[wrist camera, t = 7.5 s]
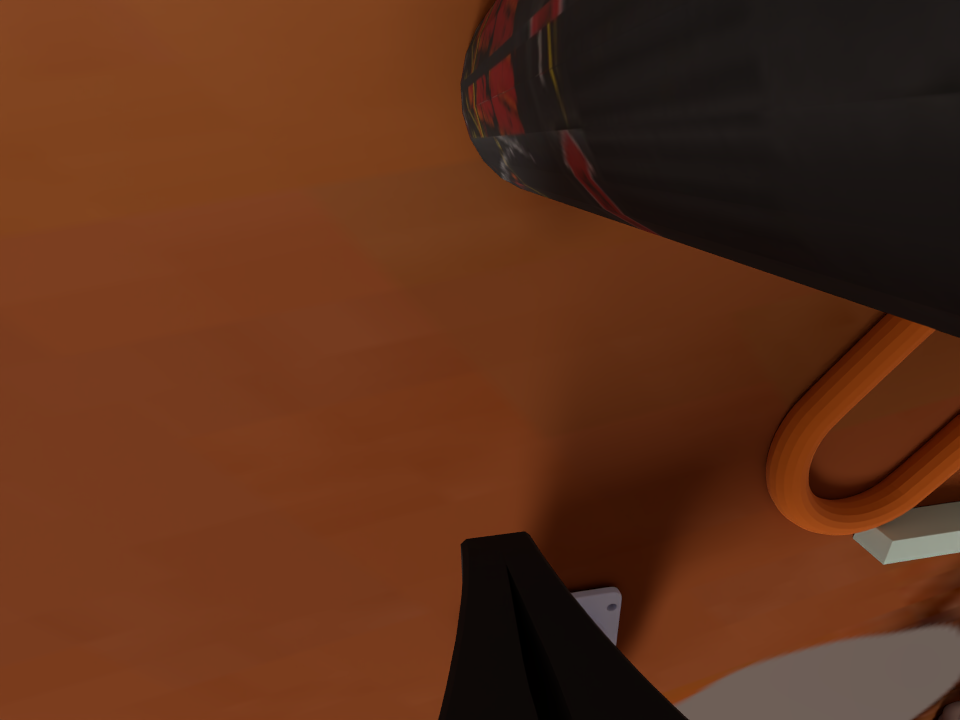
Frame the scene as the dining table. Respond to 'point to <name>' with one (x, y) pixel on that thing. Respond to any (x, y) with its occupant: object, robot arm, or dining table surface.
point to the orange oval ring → (825, 409)
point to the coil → (951, 712)
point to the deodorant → (742, 131)
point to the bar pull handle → (915, 534)
